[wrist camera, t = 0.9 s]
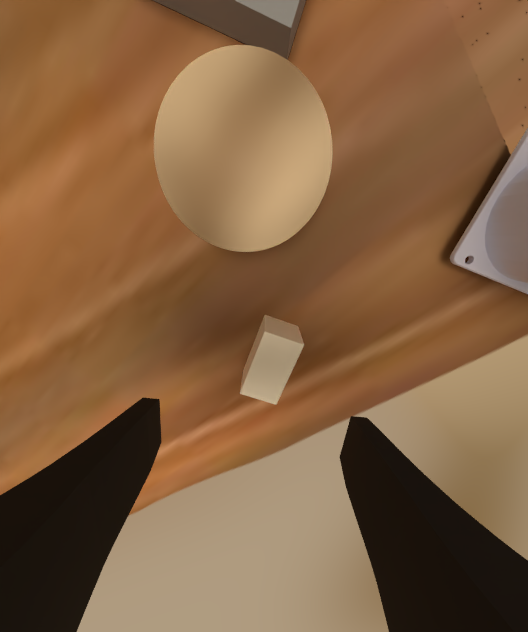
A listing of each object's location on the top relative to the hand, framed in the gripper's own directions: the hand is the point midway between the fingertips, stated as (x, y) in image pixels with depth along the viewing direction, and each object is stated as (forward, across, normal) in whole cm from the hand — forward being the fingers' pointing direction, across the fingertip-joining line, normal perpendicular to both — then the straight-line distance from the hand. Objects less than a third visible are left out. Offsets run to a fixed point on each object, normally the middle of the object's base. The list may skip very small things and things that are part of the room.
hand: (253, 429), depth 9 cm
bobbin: (+10, +2, -10) cm, 14 cm away
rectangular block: (+10, -1, +1) cm, 10 cm away
